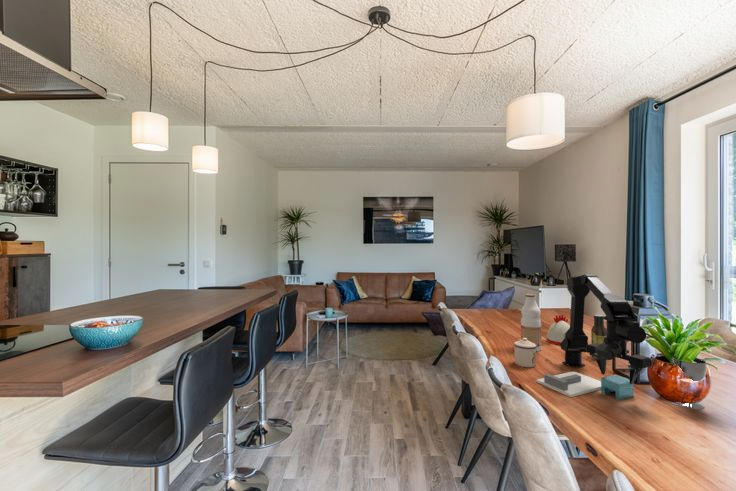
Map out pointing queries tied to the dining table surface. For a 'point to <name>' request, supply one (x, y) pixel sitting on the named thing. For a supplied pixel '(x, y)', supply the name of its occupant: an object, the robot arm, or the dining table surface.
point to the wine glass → (692, 376)
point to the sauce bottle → (598, 330)
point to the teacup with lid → (525, 353)
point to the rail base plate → (570, 383)
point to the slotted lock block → (617, 386)
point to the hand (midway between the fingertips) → (616, 378)
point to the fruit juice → (531, 321)
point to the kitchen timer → (558, 330)
